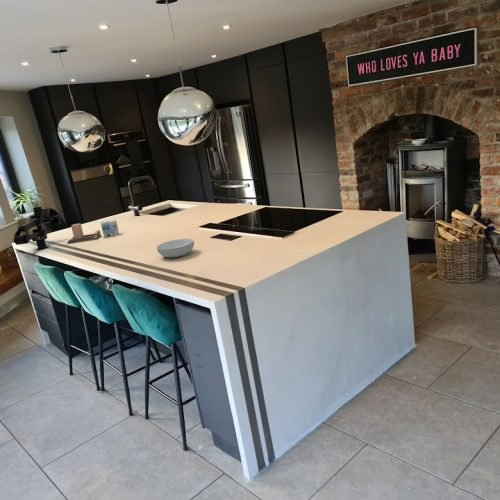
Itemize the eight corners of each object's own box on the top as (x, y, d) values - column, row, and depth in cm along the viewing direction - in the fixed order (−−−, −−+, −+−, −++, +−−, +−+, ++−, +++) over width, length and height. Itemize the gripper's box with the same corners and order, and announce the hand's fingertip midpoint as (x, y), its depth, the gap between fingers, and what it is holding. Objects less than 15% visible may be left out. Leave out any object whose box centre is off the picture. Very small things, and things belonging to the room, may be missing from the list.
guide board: (97, 239, 335) (95, 233, 334) (67, 244, 335) (66, 237, 334) (101, 235, 346) (99, 229, 345) (72, 240, 345) (71, 234, 344)
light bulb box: (104, 238, 336) (100, 223, 333) (104, 236, 343) (100, 222, 340) (119, 235, 339) (116, 220, 336) (119, 233, 345) (116, 219, 342)
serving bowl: (197, 247, 274) (195, 236, 273) (194, 258, 254) (192, 245, 252) (161, 252, 275) (159, 241, 273) (155, 263, 254) (153, 251, 253)
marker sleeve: (81, 238, 337) (78, 225, 334) (74, 239, 337) (71, 226, 334) (83, 236, 343) (80, 223, 340) (77, 237, 343) (73, 224, 340)
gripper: (53, 209, 335) (64, 208, 350) (28, 209, 337) (40, 208, 352) (55, 225, 336) (65, 223, 352) (30, 225, 338) (42, 223, 354)
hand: (53, 219), depth 352 cm, fingers open, 9 cm apart
